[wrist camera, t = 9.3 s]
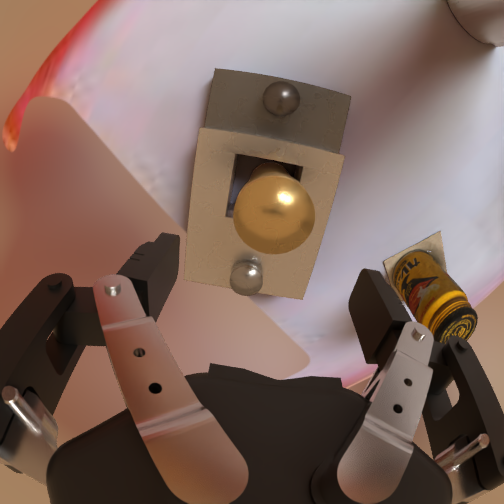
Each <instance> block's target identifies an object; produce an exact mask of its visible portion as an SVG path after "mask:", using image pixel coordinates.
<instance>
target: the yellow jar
mask: <svg viewBox="0 0 504 504" xmlns="http://www.w3.org/2000/svg"><path fill="white" fill-rule="evenodd" d="M427 250H428V251H431V252H427ZM384 264H385V267H386V271H387V274H388V277H389V281H390V284H391V287H392V288H393V289H394V290H395V292H396V293H397V295H398V297H399V299H400V300H401V301H403V300H404V301H405V303H406V305H407V307H408V308H409V309H410V311H411V313H412V314H413V316H414V317H415V319H416V321H417V322H418V323H420V324H422V325H424V326H425V327H427V328H428V329H429V330H430V332H431V333H432V335H433V338H434V341H437V342H440V343H443V344H446V342H447V341H448V339H449V338H450V337H451V336H453V335H455V336H459V337H461V338H463V339H464V340H466V341H467V340H468V339H469V338H470V336H471V335H472V333H473V332H474V330H475V328H476V325H477V319H478V318H477V314H476V312H475V310H474V309H472V307H471V305H470V303H469V302H468V299H467V296H466V294H465V293H464V292H463V290H462V289H461V288H460V287H459V286H458V285H457V283H456V282H455V281H454V280H453V279H452V278H451V277H450V276H449V275H448V274H447V270H446V263H445V257H444V251H443V243H442V237H441V232H440V231H439V232H437V233H436V234H434V235H432V236H430V237H429V238H427V239H425V240H423V241H421V242H419V243H417V244H415V245H413V246H411V247H409V248H407V249H406V250H404V251H402V252H400V253H398V254H396V255H394V256H392V257H390V258H388V259H387V260H385V261H384Z"/></svg>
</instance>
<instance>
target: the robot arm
mask: <svg viewBox="0 0 504 504" xmlns="http://www.w3.org/2000/svg"><path fill="white" fill-rule="evenodd" d="M447 1H448V5H449V7H450V9H451V11H452V12H453V14H454V16H455V17H456V19H457V20H458V22H459V23H460V24H461V26H462V27H463V28H464V29H465V30H466V31H467V32H468V33H469V34H470V35H471V36H472V37H474V38H475V39H477V40H478V41H480V42H482V43H486V44H488V43H492V44H493V45H495V46H496V47H501V46H504V0H447ZM179 245H180V237H179V235H174V234H168V233H161V234H160V235H159V237H158V238H157V239H156V240H155V242H147V243H145V244H143V245H141V246H139V247H138V249H137V250H136V251H135V252H134V254H132V256H131V257H130V259H128V260H127V262H126V263H125V264H124V265H123V266H122V268H121V269H120V270H119V271H118V273H117V274H116V275H107V276H104V277H102V278H100V279H98V280H97V281H96V282H95V283H94V286H93V287H74V286H73V281H72V278H71V277H70V276H69V275H67V274H63V273H56V274H52V275H49V276H47V277H45V278H43V279H42V280H41V281H40V282H39V283H38V284H37V286H36V287H35V288H34V289H33V290H32V291H31V293H29V295H28V296H27V297H26V298H25V299H24V300H23V302H22V303H21V304H20V305H19V306H18V308H17V309H16V310H15V311H14V312H13V314H12V315H11V316H10V317H9V319H8V320H7V321H6V323H5V324H4V325H3V327H2V328H1V329H0V463H1V464H4V465H5V466H7V467H8V468H10V469H11V470H13V471H14V472H16V473H24V474H26V475H27V476H29V477H31V478H33V479H34V480H36V481H38V482H39V483H41V484H43V485H45V486H47V490H48V494H49V498H50V503H51V504H467V503H469V502H471V501H473V500H475V499H477V498H479V497H480V496H482V495H484V494H486V493H487V492H489V491H491V490H493V489H495V488H496V487H498V486H500V485H501V484H503V483H504V414H503V411H502V409H501V406H500V404H499V402H498V399H497V397H496V395H495V393H494V391H493V389H492V386H491V384H490V382H489V380H488V378H487V376H486V374H485V372H484V370H483V368H482V366H481V364H480V362H479V360H478V358H477V356H476V355H475V353H474V351H473V349H472V347H471V346H470V345H469V343H468V342H467V341H466V340H464V339H463V338H461V337H459V336H455V335H453V336H451V337H450V338H449V339H448V341H447V342H446V344H443V343H440V342H437V341H434V338H433V335H432V333H431V332H430V330H429V329H428V328H427V327H425V326H424V325H422V324H420V323H418V322H414V321H412V320H411V318H410V316H409V314H408V312H407V311H406V309H405V307H404V305H402V302H401V300H400V299H399V297H398V295H397V293H396V292H395V290H394V289H393V288H392V287H391V286H390V285H388V284H387V283H386V281H385V280H384V278H383V276H382V275H381V273H380V272H379V271H376V270H370V269H365V268H364V269H362V270H361V272H360V274H359V277H358V279H357V282H356V284H355V286H354V289H353V291H352V293H351V296H350V299H349V312H350V315H351V318H352V320H353V323H354V326H355V329H356V332H357V335H358V338H359V342H360V345H361V348H362V351H363V354H364V357H365V361H366V364H378V367H377V369H376V370H375V372H374V373H373V375H372V377H371V379H370V381H369V382H368V384H367V386H366V388H365V389H364V391H363V393H362V394H361V395H359V394H358V393H356V392H354V391H352V390H349V389H346V388H343V387H342V382H341V378H333V377H316V376H309V377H302V378H294V379H286V380H276V379H273V378H270V377H267V376H264V375H261V374H258V373H254V372H252V371H249V370H246V369H242V368H236V367H230V366H224V365H218V364H212V363H210V367H209V372H208V373H196V374H191V375H186V376H183V374H182V372H181V370H180V368H179V367H178V365H177V363H176V361H175V360H174V358H173V356H172V354H171V352H170V350H169V348H168V346H167V344H166V343H165V341H164V339H163V337H162V335H161V333H160V331H159V329H158V327H157V325H156V321H157V319H158V317H159V315H160V312H161V310H162V308H163V306H164V304H165V302H166V300H167V298H168V296H169V294H170V292H171V290H172V288H173V286H174V283H175V281H176V279H177V275H178V267H179ZM52 331H53V332H52ZM51 332H52V334H51ZM50 334H51V335H50ZM49 335H50V337H49ZM48 337H49V338H48ZM47 338H48V340H47ZM86 345H88V346H106V348H107V351H108V354H109V358H110V361H111V364H112V368H113V371H114V374H115V376H116V379H117V382H118V385H119V388H120V391H121V394H122V396H123V399H124V402H125V404H126V407H127V409H125V410H124V411H122V412H120V413H118V414H117V415H115V416H113V417H112V418H110V419H108V420H106V421H104V422H103V423H101V424H99V425H97V426H96V427H94V428H92V429H90V430H88V431H86V432H84V433H82V434H80V435H79V436H77V437H75V438H73V439H71V440H69V441H67V442H66V443H64V444H62V445H61V446H60V447H59V448H57V435H58V426H57V423H56V420H55V419H54V417H53V413H54V411H55V409H56V407H57V404H58V402H59V400H60V398H61V395H62V393H63V391H64V389H65V387H66V384H67V382H68V380H69V378H70V376H71V374H72V372H73V370H74V368H75V366H76V364H77V362H78V360H79V358H80V356H81V354H82V352H83V350H84V349H85V347H86ZM453 380H455V382H456V385H457V388H458V390H459V394H460V395H459V400H458V402H457V404H456V405H455V406H454V407H453V408H452V405H451V403H450V399H449V397H448V394H447V391H446V388H447V387H448V386H449V384H450V383H451V382H452V381H453ZM421 413H422V415H423V418H424V422H425V426H426V430H427V434H428V437H429V442H430V446H431V450H432V455H433V459H434V460H433V459H431V458H430V457H429V456H428V455H427V454H426V453H425V452H424V451H422V450H421V449H420V448H419V447H418V446H417V445H416V444H415V443H414V442H413V441H412V439H413V436H414V433H415V431H416V428H417V425H418V422H419V419H420V416H421Z"/></svg>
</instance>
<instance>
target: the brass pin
mask: <svg viewBox="0 0 504 504" xmlns="http://www.w3.org/2000/svg"><path fill="white" fill-rule="evenodd" d="M233 221H234V226H235V229H236V231H237V233H238V235H239V237H240V238H241V239H242V241H243V242H244V243H245V244H247V245H248V246H249V247H251V248H252V249H254V250H256V251H258V252H261V253H265V254H283V253H287V252H289V251H292V250H294V249H296V248H297V247H299V246H300V245H301V244H303V243H304V242H305V240H306V239H307V238H308V237H309V235H310V234H311V232H312V229H313V227H314V223H315V208H314V204H313V202H312V200H311V198H310V196H309V194H308V192H307V191H306V189H305V188H304V186H303V185H302V184H301V183H300V182H299V181H297V180H296V179H295V178H293V177H291V176H290V175H289V173H288V171H287V170H286V169H285V168H284V167H283V166H281V165H280V164H277V163H273V162H268V163H263V164H261V165H259V166H258V167H256V168H255V169H254V171H253V172H252V174H251V176H250V181H248V182H247V183H246V184H245V185H244V186H243V188H242V189H241V191H240V192H239V194H238V197H237V200H236V203H235V206H234V211H233Z"/></svg>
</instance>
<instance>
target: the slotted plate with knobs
mask: <svg viewBox="0 0 504 504" xmlns="http://www.w3.org/2000/svg"><path fill="white" fill-rule="evenodd" d="M350 100H351V96H349V95H346V94H342V93H339V92H336V91H332V90H329V89H325V88H321V87H318V86H314V85H310V84H306V83H302V82H297V81H293V80H288V79H283V78H278V77H273V76H268V75H262V74H256V73H249V72H242V71H234V70H226V69H216V68H215V71H214V76H213V81H212V87H211V92H210V98H209V103H208V109H207V115H206V121H205V127H201V128H200V129H199V135H198V142H197V149H196V156H195V164H194V172H193V180H192V189H191V198H190V208H189V218H188V229H187V242H186V255H185V270H184V280H188V281H193V282H199V283H204V284H209V285H215V286H221V287H226V288H232V289H233V290H234V291H235V292H236V293H238V294H240V295H244V296H250V295H254V294H256V293H261V294H268V295H274V296H280V297H287V298H294V299H300V300H303V297H304V294H305V291H306V288H307V285H308V282H309V279H310V276H311V273H312V270H313V267H314V264H315V261H316V257H317V254H318V251H319V248H320V245H321V241H322V238H323V235H324V231H325V228H326V225H327V221H328V218H329V214H330V211H331V207H332V204H333V200H334V196H335V193H336V189H337V185H338V181H339V178H340V174H341V170H342V166H343V162H344V158H345V156H344V155H342V154H340V153H339V150H340V146H341V141H342V137H343V133H344V128H345V124H346V119H347V114H348V110H349V105H350ZM238 154H243V155H249V156H254V157H260V158H265V159H270V160H276V161H281V162H285V163H290V164H295V165H296V169H295V174H294V178H295V179H296V180H297V181H299V182H300V183H301V184H302V185H303V186H304V188H305V189H306V191H307V192H308V194H309V196H310V198H311V200H312V202H313V204H314V208H315V223H314V227H313V229H312V232H311V234H310V235H309V237H308V238H307V239H306V240H305V242H304V243H303V244H301V245H300V246H299V247H297V248H296V249H294V250H292V251H289V252H287V253H283V254H265V253H261V252H258V251H256V250H254V249H252V248H251V247H249V246H248V245H247V244H245V243H244V242H243V241H242V239H241V238H240V237H239V235H238V233H237V231H236V229H235V226H234V221H233V211H234V206H235V204H230V201H231V195H232V188H233V182H234V176H235V170H236V164H237V159H238Z"/></svg>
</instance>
